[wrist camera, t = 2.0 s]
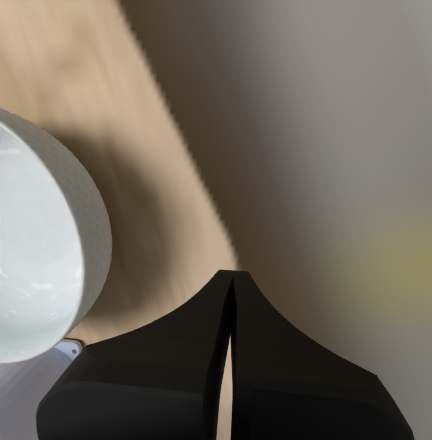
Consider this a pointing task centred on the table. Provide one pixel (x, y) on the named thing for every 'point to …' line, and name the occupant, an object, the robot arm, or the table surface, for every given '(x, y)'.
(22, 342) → the cereal bowl
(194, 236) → the table surface
